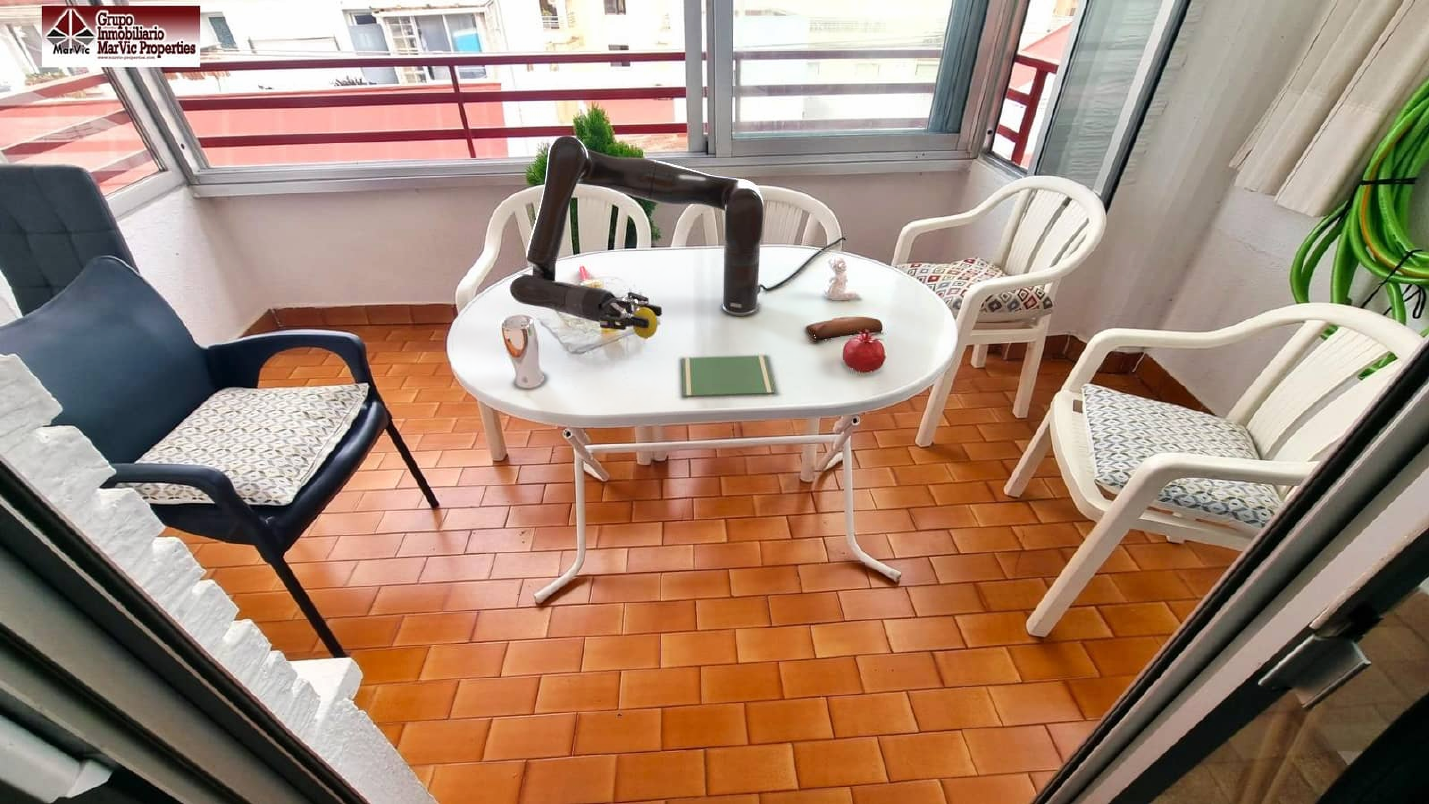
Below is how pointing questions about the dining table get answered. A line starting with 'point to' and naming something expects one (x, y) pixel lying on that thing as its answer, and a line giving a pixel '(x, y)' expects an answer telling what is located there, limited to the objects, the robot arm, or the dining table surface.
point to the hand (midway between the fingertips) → (654, 317)
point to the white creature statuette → (838, 281)
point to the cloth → (726, 376)
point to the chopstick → (583, 272)
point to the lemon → (652, 323)
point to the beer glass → (523, 349)
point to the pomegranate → (864, 353)
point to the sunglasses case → (843, 327)
